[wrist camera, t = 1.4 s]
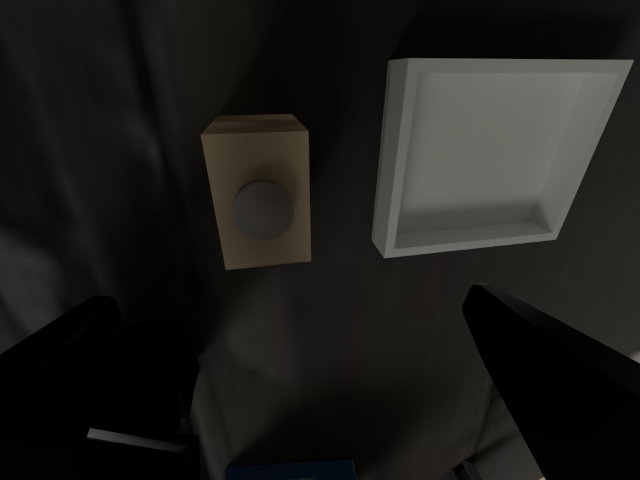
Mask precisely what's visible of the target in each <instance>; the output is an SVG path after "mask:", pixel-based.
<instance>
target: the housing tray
mask: <svg viewBox="0 0 640 480" xmlns="http://www.w3.org/2000/svg"><path fill="white" fill-rule="evenodd" d="M633 61H634V60H563V59H446V58H406V59H397V60H388V69H387V80H386V91H385V101H384V112H383V123H382V133H381V144H380V155H379V165H378V176H377V187H376V197H375V208H374V218H373V229H372V241H373V243H374V244H375V246H376V247H377V248H378V250H379V251H380V253H381V254H382V255H383V257H384V258H390V257H399V256H408V255H417V254H427V253H436V252H445V251H454V250H464V249H473V248H482V247H491V246H501V245H510V244H519V243H528V242H538V241H547V240H556V238H557V236H558V234H559V231H560V229H561V227H562V224H563V222H564V220H565V217H566V215H567V213H568V211H569V208H570V206H571V204H572V201H573V199H574V197H575V195H576V192H577V190H578V188H579V185H580V183H581V181H582V178H583V176H584V174H585V172H586V169H587V167H588V165H589V162H590V160H591V158H592V155H593V153H594V151H595V149H596V146H597V144H598V142H599V139H600V137H601V135H602V132H603V130H604V128H605V126H606V123H607V121H608V119H609V116H610V114H611V112H612V109H613V107H614V105H615V103H616V100H617V98H618V96H619V93H620V91H621V89H622V86H623V84H624V82H625V80H626V77H627V75H628V73H629V70H630V68H631V66H632V63H633Z"/></svg>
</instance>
